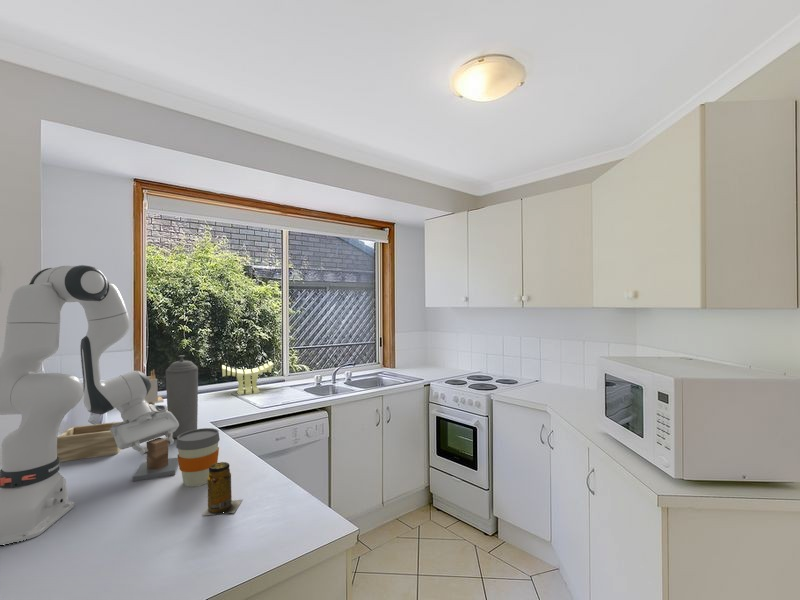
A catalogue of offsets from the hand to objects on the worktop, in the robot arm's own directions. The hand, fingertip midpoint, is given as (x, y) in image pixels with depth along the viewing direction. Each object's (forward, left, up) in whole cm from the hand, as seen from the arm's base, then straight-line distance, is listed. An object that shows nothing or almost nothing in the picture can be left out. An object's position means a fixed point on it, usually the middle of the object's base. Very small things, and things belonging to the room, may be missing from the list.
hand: (158, 448), depth 134 cm
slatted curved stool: (+115, -30, -8) cm, 119 cm away
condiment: (-36, -22, -8) cm, 42 cm away
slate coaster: (0, 0, -8) cm, 8 cm away
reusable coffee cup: (-14, -14, -8) cm, 21 cm away
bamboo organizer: (+31, +27, -8) cm, 42 cm away
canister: (+38, -3, -8) cm, 39 cm away
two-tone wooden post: (+68, +15, -8) cm, 70 cm away
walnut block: (0, 0, -6) cm, 6 cm away
